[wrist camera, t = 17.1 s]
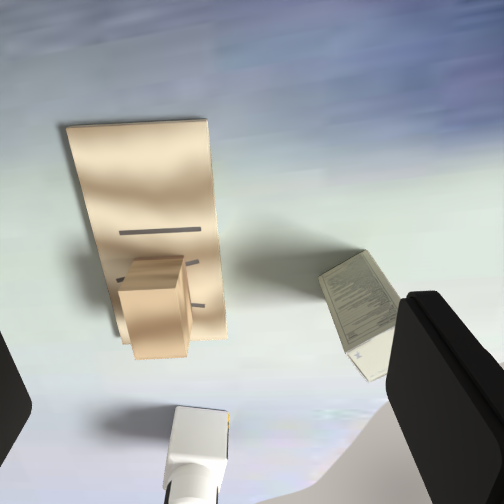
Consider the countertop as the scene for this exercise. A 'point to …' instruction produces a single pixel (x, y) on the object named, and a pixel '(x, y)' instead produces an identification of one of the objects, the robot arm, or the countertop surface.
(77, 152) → the board
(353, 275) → the skincare box
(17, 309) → the countertop surface
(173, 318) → the block
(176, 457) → the medicine bottle
